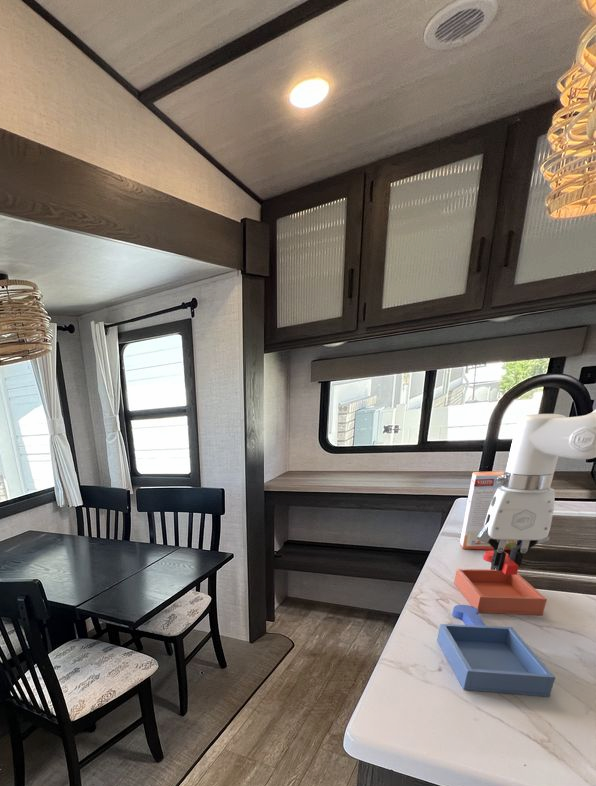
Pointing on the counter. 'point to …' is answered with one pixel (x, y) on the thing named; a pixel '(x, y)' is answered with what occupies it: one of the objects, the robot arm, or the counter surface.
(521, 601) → the terracotta bin
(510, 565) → the red keyhole shape
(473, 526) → the cracker box
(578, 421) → the robot arm
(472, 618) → the blue keyhole shape
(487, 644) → the blue bin
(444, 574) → the counter surface
